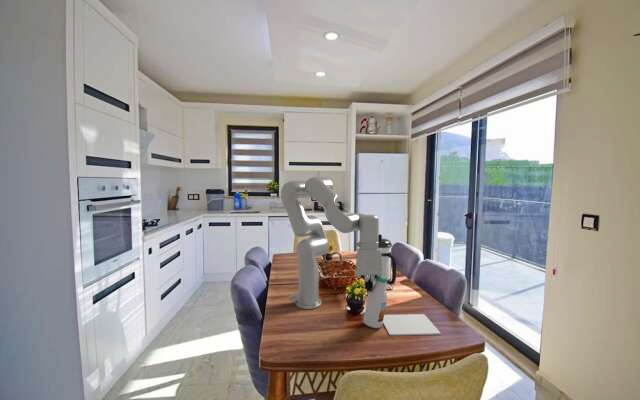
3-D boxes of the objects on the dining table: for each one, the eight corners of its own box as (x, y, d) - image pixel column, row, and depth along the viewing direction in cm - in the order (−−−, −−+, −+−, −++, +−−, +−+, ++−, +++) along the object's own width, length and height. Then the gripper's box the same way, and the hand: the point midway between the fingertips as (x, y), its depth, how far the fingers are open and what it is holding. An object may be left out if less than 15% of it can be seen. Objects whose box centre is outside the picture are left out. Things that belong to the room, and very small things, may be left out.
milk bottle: (370, 329, 114) (380, 280, 113) (359, 319, 121) (368, 273, 120) (385, 328, 118) (395, 280, 116) (373, 318, 125) (383, 273, 123)
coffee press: (362, 291, 156) (362, 236, 154) (368, 281, 170) (369, 231, 168) (395, 296, 149) (396, 238, 147) (399, 286, 164) (400, 233, 162)
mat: (389, 335, 112) (389, 334, 112) (379, 316, 128) (379, 315, 127) (440, 334, 112) (440, 333, 112) (424, 315, 128) (424, 314, 128)
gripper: (351, 248, 113) (351, 294, 114) (389, 247, 113) (389, 293, 115) (349, 243, 120) (349, 287, 122) (384, 243, 121) (384, 286, 122)
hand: (368, 290), depth 118 cm, fingers closed
